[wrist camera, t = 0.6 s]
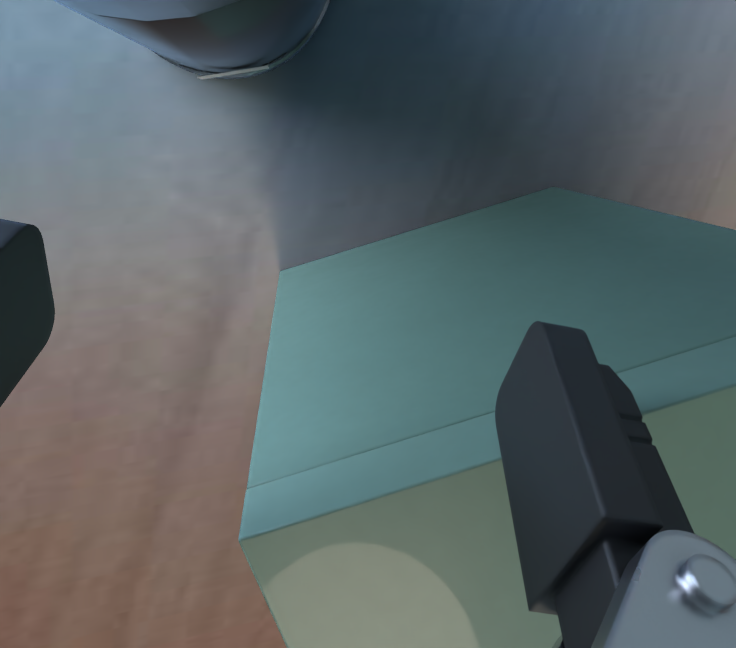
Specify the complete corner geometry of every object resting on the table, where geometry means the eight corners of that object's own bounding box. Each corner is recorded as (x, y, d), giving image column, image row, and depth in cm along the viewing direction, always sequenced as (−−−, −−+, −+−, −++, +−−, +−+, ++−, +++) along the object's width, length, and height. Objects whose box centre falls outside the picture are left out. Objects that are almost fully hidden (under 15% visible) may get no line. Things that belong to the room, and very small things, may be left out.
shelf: (279, 271, 28) (228, 593, 9) (554, 185, 28) (1109, 317, 9) (392, 592, 35) (504, 1168, 16) (612, 524, 35) (992, 1010, 16)
